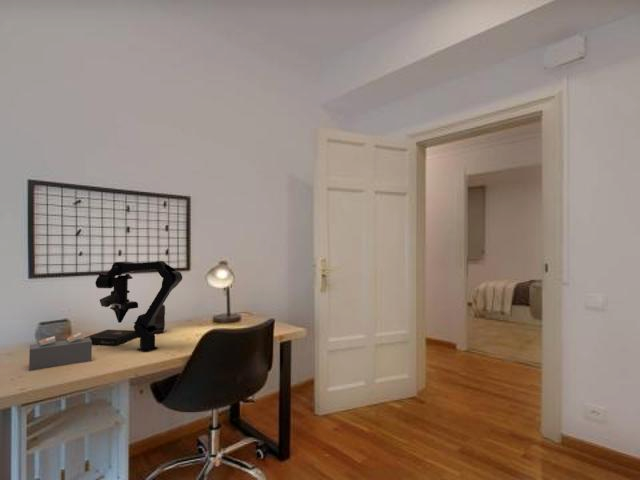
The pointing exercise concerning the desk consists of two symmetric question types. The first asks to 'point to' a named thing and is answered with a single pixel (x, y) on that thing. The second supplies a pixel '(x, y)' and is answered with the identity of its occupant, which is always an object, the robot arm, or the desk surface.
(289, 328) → the desk surface
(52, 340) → the block
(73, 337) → the rocker
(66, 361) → the switch block
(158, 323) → the dark grey tall block
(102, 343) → the portable cd player
